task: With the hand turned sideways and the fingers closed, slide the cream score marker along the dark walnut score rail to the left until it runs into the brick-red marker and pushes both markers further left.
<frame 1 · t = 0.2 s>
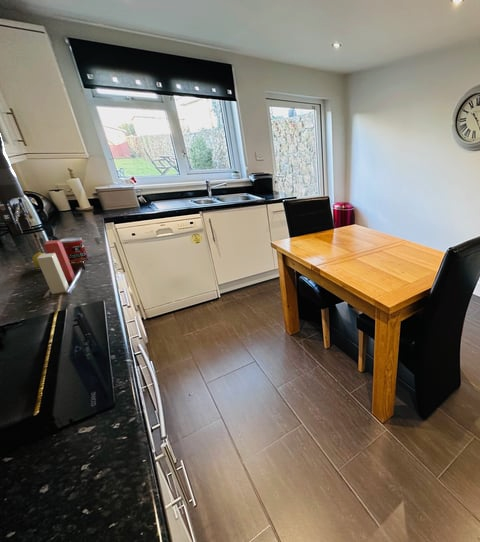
hand: (22, 231, 97), 24 cm above the worktop, tool pointing down, fingers open, 8 cm apart
score rail: (67, 283, 114), on the worktop
marker red: (60, 261, 112), point 9 cm above the worktop, slide at 0.0 cm
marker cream: (53, 273, 104), point 8 cm above the worktop, slide at 0.0 cm
lemon: (46, 269, 127), on the worktop
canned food: (78, 261, 138), on the worktop
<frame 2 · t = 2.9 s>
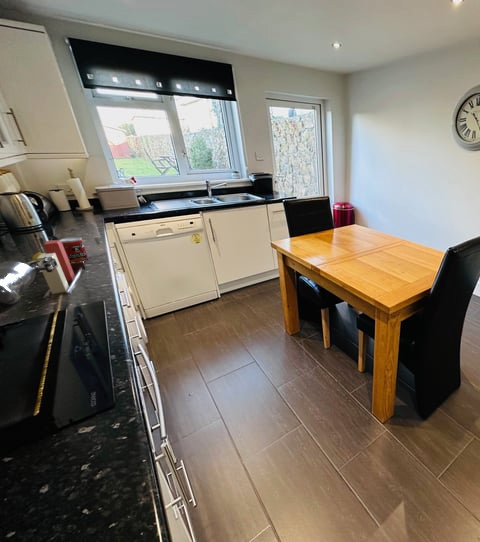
hand: (27, 262, 87), 18 cm above the worktop, tool horizontal, fingers open, 8 cm apart
nothing on the worktop moved.
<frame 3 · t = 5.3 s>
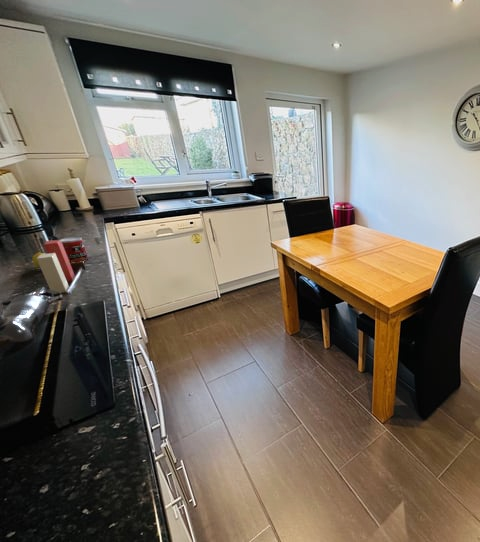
hand: (41, 290, 92), 8 cm above the worktop, tool horizontal, fingers closed
nothing on the worktop moved.
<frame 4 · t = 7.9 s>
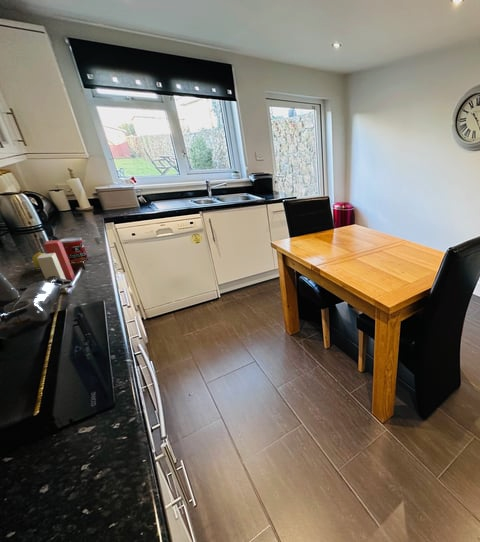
hand: (53, 278, 102), 7 cm above the worktop, tool horizontal, fingers closed
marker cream: (53, 273, 104), point 8 cm above the worktop, slide at 0.1 cm, touching gripper
everything else where it was.
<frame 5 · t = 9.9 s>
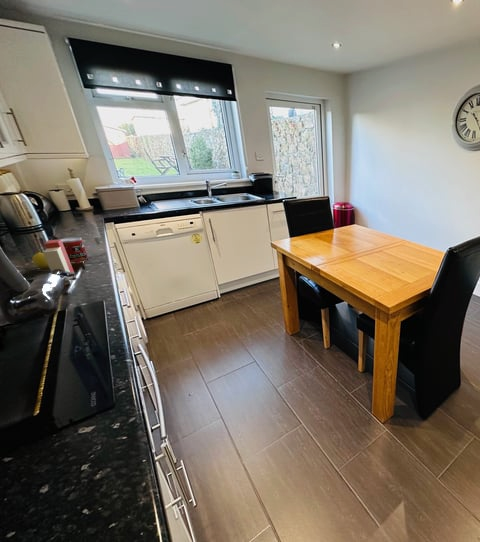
hand: (58, 271, 108), 7 cm above the worktop, tool horizontal, fingers closed
marker red: (60, 260, 113), point 9 cm above the worktop, slide at 1.0 cm, touching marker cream
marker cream: (58, 266, 110), point 8 cm above the worktop, slide at 8.0 cm, touching gripper, marker red
everything else where it was.
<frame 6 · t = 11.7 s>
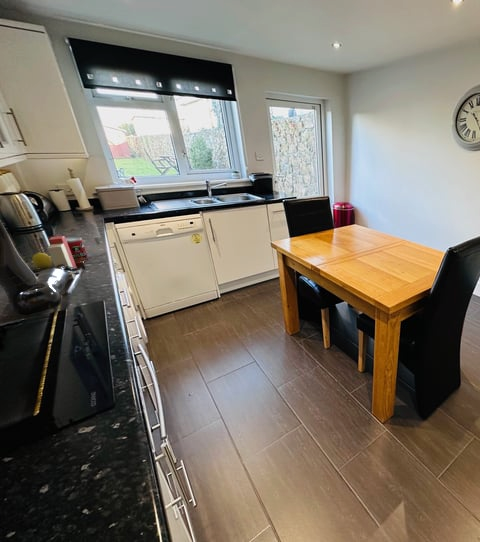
hand: (61, 266, 113), 7 cm above the worktop, tool horizontal, fingers closed
marker red: (64, 256, 117), point 9 cm above the worktop, slide at 7.0 cm, touching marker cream
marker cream: (62, 261, 114), point 8 cm above the worktop, slide at 14.0 cm, touching gripper, marker red
everything else where it was.
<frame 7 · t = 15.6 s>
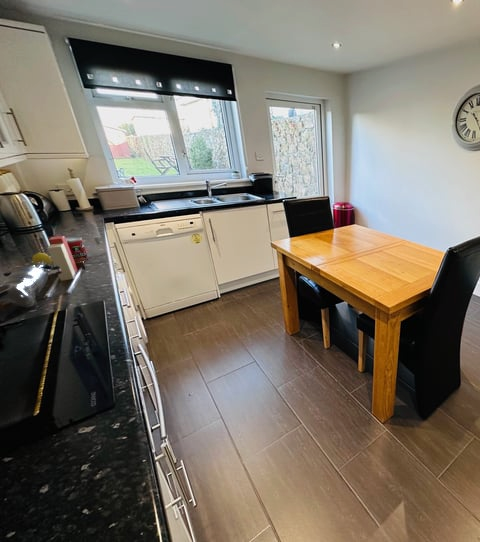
hand: (41, 264, 96), 14 cm above the worktop, tool horizontal, fingers closed
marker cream: (62, 261, 114), point 8 cm above the worktop, slide at 14.0 cm, touching marker red
everything else where it was.
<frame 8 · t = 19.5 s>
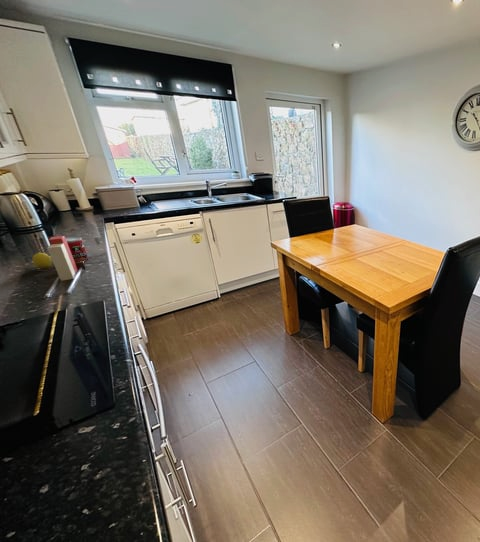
nothing on the worktop moved.
at the end: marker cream slide at 14.0 cm; marker red slide at 7.0 cm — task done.
